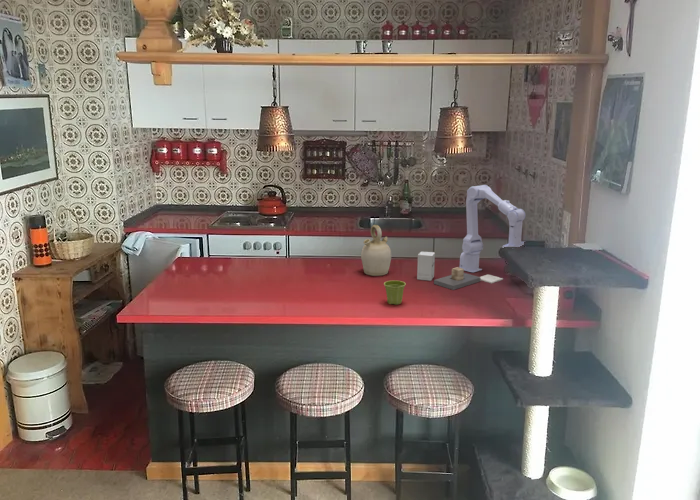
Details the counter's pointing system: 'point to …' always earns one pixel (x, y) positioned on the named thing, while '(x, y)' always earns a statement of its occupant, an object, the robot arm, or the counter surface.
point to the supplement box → (425, 266)
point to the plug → (457, 274)
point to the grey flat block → (454, 284)
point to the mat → (490, 278)
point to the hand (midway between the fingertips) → (513, 262)
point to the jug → (376, 254)
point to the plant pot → (394, 291)
